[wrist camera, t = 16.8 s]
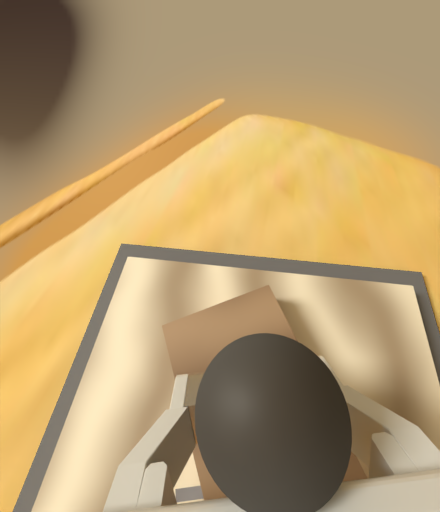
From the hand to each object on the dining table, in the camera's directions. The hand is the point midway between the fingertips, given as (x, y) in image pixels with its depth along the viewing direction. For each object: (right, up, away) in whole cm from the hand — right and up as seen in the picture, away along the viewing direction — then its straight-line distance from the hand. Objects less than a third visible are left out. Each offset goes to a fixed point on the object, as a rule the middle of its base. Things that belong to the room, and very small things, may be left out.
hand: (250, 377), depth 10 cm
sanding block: (0, -3, +4) cm, 5 cm away
